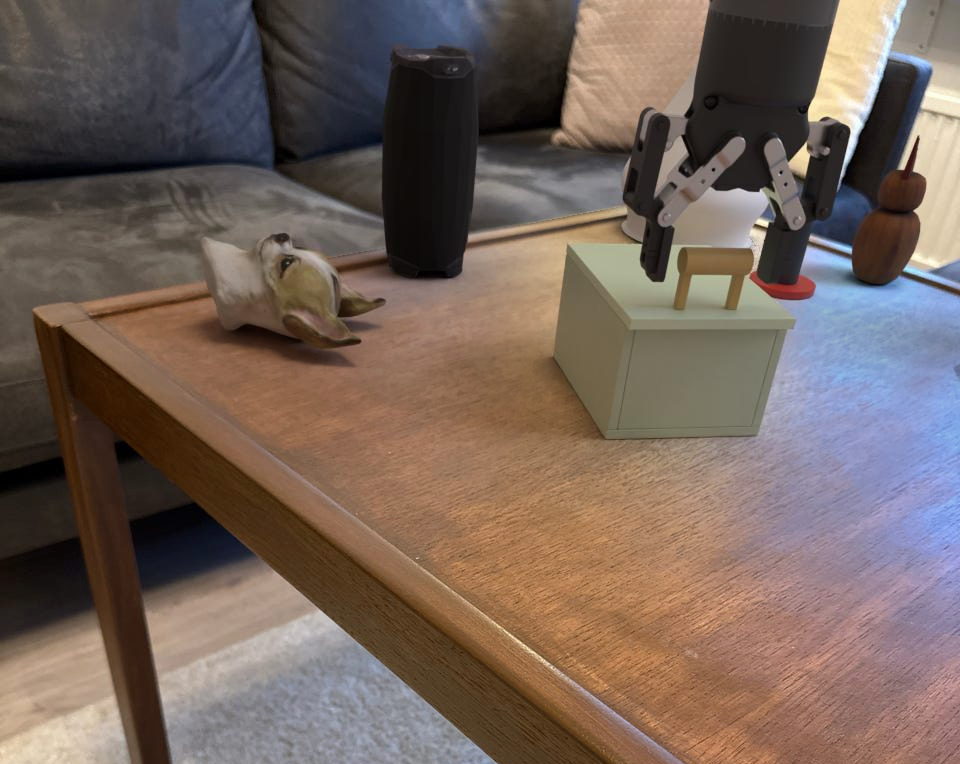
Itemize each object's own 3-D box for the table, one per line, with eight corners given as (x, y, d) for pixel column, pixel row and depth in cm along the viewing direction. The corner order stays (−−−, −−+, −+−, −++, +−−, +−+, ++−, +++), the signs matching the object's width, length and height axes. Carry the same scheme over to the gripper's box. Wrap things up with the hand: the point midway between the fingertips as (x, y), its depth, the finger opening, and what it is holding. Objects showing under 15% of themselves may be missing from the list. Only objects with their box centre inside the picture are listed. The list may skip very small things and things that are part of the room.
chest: (758, 435, 77) (789, 326, 71) (605, 439, 74) (625, 326, 69) (686, 354, 89) (708, 255, 83) (552, 356, 86) (565, 253, 81)
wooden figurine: (880, 293, 107) (930, 141, 97) (834, 276, 110) (879, 129, 100) (911, 282, 110) (963, 136, 101) (866, 267, 113) (912, 123, 104)
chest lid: (793, 329, 71) (814, 258, 68) (628, 329, 68) (641, 256, 65) (708, 254, 83) (722, 192, 80) (565, 252, 80) (574, 187, 77)
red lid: (768, 272, 109) (786, 203, 105) (825, 290, 106) (846, 220, 101) (735, 284, 105) (752, 213, 100) (793, 304, 101) (813, 231, 97)
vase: (594, 212, 122) (629, -29, 107) (721, 214, 127) (772, -18, 111) (645, 258, 109) (692, -8, 94) (784, 258, 114) (852, 3, 98)
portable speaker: (364, 266, 100) (364, 45, 88) (422, 248, 106) (430, 38, 94) (429, 289, 97) (439, 61, 84) (485, 268, 103) (502, 53, 91)
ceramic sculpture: (223, 199, 84) (393, 232, 84) (226, 298, 90) (385, 329, 89) (175, 237, 76) (363, 273, 76) (181, 343, 82) (357, 377, 81)
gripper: (684, 9, 55) (632, 298, 65) (910, 25, 58) (827, 300, 68) (640, -8, 60) (599, 260, 70) (848, 8, 63) (780, 263, 73)
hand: (711, 279), depth 69 cm, fingers open, 8 cm apart
